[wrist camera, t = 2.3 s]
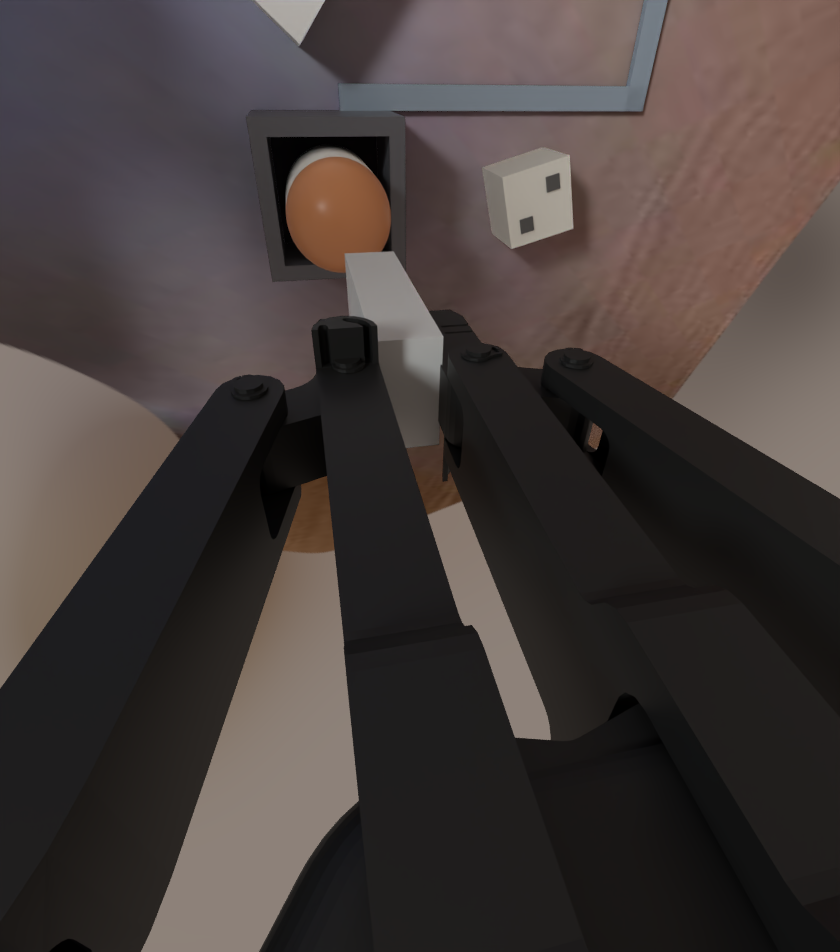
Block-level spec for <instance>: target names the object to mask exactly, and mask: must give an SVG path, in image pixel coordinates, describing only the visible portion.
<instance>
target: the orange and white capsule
mask: <svg viewBox="0 0 840 952" xmlns="http://www.w3.org/2000/svg"><path fill="white" fill-rule="evenodd" d="M286 220H287V225H288V229H289V232H290V235H291V237H292V239H293V241H294V243H295V245H296V246H297V248H298V249H299V250H300V252H301V253H302V254H303V255H304V256H305V257H306V258H307V259H308V260H309V261H311V262H312V263H313V264H315V265H317V266H318V267H320V268H322V269H325V270H328V271H331V272H337V273H346V267H345V254H344V253H366V252H381V251H382V250H383V248H384V246H385V244H386V242H387V239H388V236H389V232H390V226H391V209H390V205H389V201H388V198H387V195H386V192H385V190H384V188H383V186H382V185H381V183H380V181H379V180H378V179H377V177H376V176H375V175H374V174H373V172H372V171H371V170H370V169H369V168H368V167H367V165H366V164H365V163H364V162H363V161H362V159H360V158H359V157H358V156H357V155H356V154H355V153H353V152H352V151H350V150H349V149H347V148H344V147H342V146H338V145H334V144H323V145H318V146H314V147H312V148H310V149H308V150H306V151H305V152H303V153H302V154H301V155H300V156H299V157H298V158H297V159H296V160H295V162H294V163H293V165H292V167H291V169H290V171H289V174H288V177H287V182H286Z"/></svg>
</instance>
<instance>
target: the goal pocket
mask: <svg viewBox="0 0 840 952" xmlns="http://www.w3.org/2000/svg"><path fill="white" fill-rule="evenodd" d="M667 1H668V0H644V3H643V8H642V13H641V18H640V22H639V27H638V32H637V37H636V42H635V47H634V52H633V56H632V61H631V66H630V71H629V76H628V81H627V85H626V86H541V85H445V84H348V83H338V90H339V105H340V111H643V107H644V102H645V98H646V93H647V89H648V85H649V80H650V76H651V71H652V67H653V63H654V58H655V54H656V49H657V45H658V41H659V36H660V32H661V28H662V23H663V19H664V14H665V10H666V6H667Z"/></svg>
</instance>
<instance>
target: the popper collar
mask: <svg viewBox="0 0 840 952" xmlns="http://www.w3.org/2000/svg"><path fill="white" fill-rule="evenodd" d="M246 121H247V127H248V133H249V139H250V146H251V152H252V158H253V164H254V170H255V176H256V183H257V189H258V195H259V201H260V207H261V214H262V220H263V226H264V232H265V238H266V244H267V251H268V257H269V263H270V269H271V275H272V282H277V281H296V280H315V279H335V278H346V273H337V272H331V271H328V270H325V269H322V268H320V267H318V266H317V265H315V264H313V263H312V262H311V261H309V260H308V259H307V258H306V257H305V256H304V255H303V254H302V253H301V252H300V250H299V249H298V248H297V246H296V245H295V243H294V242H291V243H285V239H284V232H283V225H282V218H281V211H280V204H279V197H278V190H277V183H276V175H275V168H274V161H273V154H272V147H271V140H270V137H350V136H376V142H377V172H378V180H379V181H380V183H381V185H382V186H383V188H384V190H385V192H386V195H387V198H388V201H389V205H390V209H391V226H390V232H389V236H388V239H387V242H386V244H385V246H384V248H383V250H382V251H381V252H389V251H394V253H395V255H396V256H397V258H398V260H399V261H400V263H401V265H402V267H403V268H404V270H405V272H406V187H405V117H404V116H402V115H399V114H397V113H395V112H392V111H340V110H251V111H250V112H249V114H248V115H247V116H246Z"/></svg>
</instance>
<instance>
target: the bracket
mask: <svg viewBox="0 0 840 952" xmlns="http://www.w3.org/2000/svg"><path fill="white" fill-rule="evenodd" d="M251 1H252V2H254V3H255V4H256V5H257V6H258V7H259V8H260V9H261V10H262V11H263V12H264V13H265V14H266V15H267V16H268V17H269V18H270V19H271V20H272V21H273V22H274V23H275V24H276V25H277V26H278V27H279V28H280V29H281V30H282V31H283V32H284V33H285V34H286V35H287V36H288V37H289V38H290V39H291V40H292V41H293V42H294V43H295V44H296V45H297V46H298V47H299V46H300V44H301V42H302V41H303V39H304V37H305V35H306V33H307V32H308V30H309V28H310V26H311V24H312V23H313V21H314V19H315V17H316V16H317V14H318V12H319V10H320V8H321V7H322V5H323V3H324V1H325V0H251Z"/></svg>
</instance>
